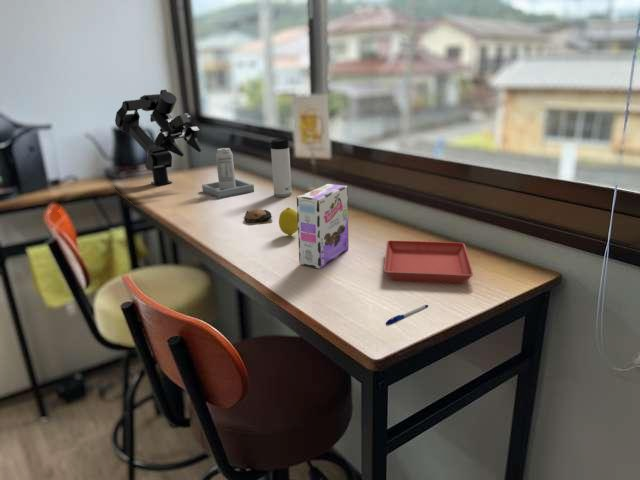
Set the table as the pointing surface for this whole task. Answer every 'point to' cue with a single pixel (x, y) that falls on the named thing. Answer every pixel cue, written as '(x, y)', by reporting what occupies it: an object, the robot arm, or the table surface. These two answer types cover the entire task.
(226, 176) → the energy drink can
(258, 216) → the abalone
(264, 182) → the table surface
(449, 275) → the plant saucer
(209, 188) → the tray
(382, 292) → the table surface
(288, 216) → the lemon
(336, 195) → the candy box
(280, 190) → the travel mug
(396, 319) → the ballpoint pen
